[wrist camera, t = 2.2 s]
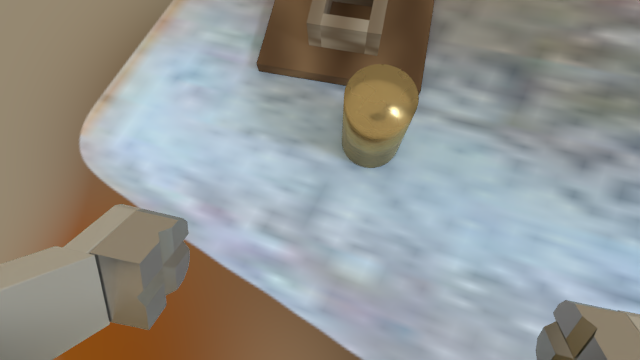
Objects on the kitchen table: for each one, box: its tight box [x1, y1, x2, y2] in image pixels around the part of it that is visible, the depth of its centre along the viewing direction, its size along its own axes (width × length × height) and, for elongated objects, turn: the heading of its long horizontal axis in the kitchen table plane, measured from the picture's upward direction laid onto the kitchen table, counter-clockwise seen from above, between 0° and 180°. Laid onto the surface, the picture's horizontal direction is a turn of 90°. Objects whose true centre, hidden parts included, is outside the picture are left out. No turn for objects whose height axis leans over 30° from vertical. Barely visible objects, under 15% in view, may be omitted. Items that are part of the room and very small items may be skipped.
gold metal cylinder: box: [342, 64, 419, 168], centre depth 29 cm, size 5×5×8 cm
